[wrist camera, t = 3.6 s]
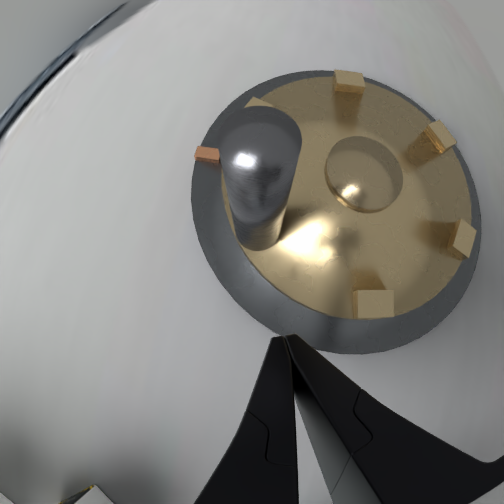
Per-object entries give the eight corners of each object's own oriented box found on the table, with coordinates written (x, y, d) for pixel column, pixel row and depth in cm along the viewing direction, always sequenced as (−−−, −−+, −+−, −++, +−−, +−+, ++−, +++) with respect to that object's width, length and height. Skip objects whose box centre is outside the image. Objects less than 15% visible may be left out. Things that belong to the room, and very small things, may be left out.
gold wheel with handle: (372, 68, 27) (407, -25, 15) (494, 238, 23) (589, 190, 10) (181, 138, 25) (139, 22, 13) (310, 375, 20) (375, 429, 8)
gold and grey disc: (507, 253, 24) (519, 248, 22) (292, 414, 21) (296, 422, 19) (370, 59, 29) (374, 47, 27) (150, 141, 27) (143, 129, 25)
